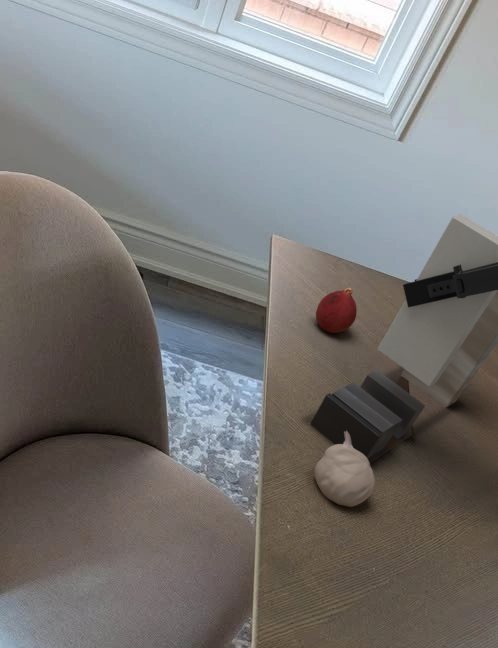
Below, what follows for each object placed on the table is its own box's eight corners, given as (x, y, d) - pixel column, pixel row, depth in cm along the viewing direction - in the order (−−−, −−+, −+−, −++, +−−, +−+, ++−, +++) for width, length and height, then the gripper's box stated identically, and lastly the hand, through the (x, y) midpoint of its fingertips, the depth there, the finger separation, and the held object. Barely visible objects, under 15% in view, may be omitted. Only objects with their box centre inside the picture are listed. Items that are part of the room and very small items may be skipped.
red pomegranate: (314, 342, 113) (337, 296, 107) (303, 319, 117) (324, 274, 111) (348, 346, 115) (373, 301, 109) (336, 323, 118) (359, 279, 113)
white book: (385, 345, 95) (460, 213, 83) (436, 382, 92) (523, 251, 80) (377, 349, 94) (452, 216, 82) (429, 386, 91) (515, 254, 78)
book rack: (404, 372, 113) (474, 261, 100) (455, 409, 110) (534, 299, 96) (304, 427, 98) (371, 304, 85) (359, 472, 94) (438, 351, 81)
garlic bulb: (354, 481, 93) (384, 434, 87) (363, 520, 88) (396, 473, 83) (304, 471, 92) (331, 423, 86) (311, 510, 87) (340, 462, 82)
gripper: (659, 186, 75) (436, 249, 93) (607, 209, 66) (371, 274, 84) (671, 261, 76) (449, 309, 94) (621, 294, 67) (387, 340, 85)
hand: (413, 292), depth 89 cm, fingers closed on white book, 2 cm apart
